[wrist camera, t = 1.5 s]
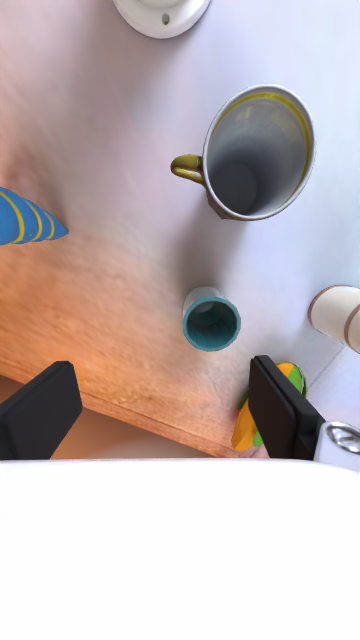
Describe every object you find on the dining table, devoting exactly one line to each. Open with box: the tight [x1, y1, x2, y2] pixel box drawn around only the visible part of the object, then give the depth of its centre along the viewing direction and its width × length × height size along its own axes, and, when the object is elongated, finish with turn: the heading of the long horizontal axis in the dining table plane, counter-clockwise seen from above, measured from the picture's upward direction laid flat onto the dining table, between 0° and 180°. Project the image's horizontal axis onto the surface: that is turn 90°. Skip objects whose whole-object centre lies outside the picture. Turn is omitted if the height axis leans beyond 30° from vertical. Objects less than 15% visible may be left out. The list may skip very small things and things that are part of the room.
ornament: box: [0, 187, 69, 245], centre depth 21 cm, size 5×5×15 cm
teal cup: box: [182, 286, 241, 352], centre depth 27 cm, size 7×7×9 cm
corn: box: [231, 362, 307, 451], centre depth 33 cm, size 7×8×20 cm
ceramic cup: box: [171, 84, 317, 221], centre depth 22 cm, size 13×10×10 cm
